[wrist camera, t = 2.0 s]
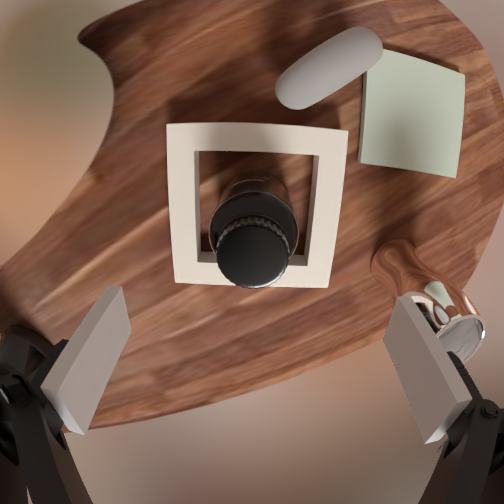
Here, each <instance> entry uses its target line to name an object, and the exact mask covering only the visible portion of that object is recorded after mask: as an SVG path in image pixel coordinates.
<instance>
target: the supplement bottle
mask: <svg viewBox="0 0 504 504" xmlns="http://www.w3.org/2000/svg"><path fill="white" fill-rule="evenodd" d="M298 238H299V229H298V223H297V219H296V216H295V213H294V210H293V206H292V203H291V200H290V197H289V195H288V192H287V190H286V188H285V187H284V185H283V184H282V183H281V182H280V181H279V180H278V179H277V178H276V177H274V176H272V175H270V174H268V173H265V172H261V171H250V172H245V173H242V174H240V175H238V176H236V177H235V178H233V179H232V180H231V181H230V182H229V183H228V184H227V186H226V187H225V189H224V191H223V193H222V195H221V197H220V199H219V202H218V204H217V206H216V208H215V211H214V213H213V215H212V218H211V221H210V226H209V240H210V245H211V247H212V250H213V252H214V253H215V255H216V257H217V258H216V262H217V263H218V268H219V269H220V270H221V273H222V274H223V275H224V276H225V278H226V279H228V280H229V281H230V282H231V283H234V284H235V285H237V286H241V287H243V288H249V289H251V288H255V289H257V288H263V287H265V286H269V285H271V284H272V283H275V282H276V281H277V279H279V278H281V275H282V274H284V273H285V269H286V268H287V267H288V262H289V259H290V258H291V256H292V255H293V253H294V252H295V249H296V247H297V244H298Z"/></svg>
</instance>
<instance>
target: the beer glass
mask: <svg viewBox="0 0 504 504" xmlns="http://www.w3.org/2000/svg"><path fill="white" fill-rule="evenodd" d="M371 272H372V275H373V277H374V279H375V280H376V281H377V282H378V283H379V284H380V285H381V286H383V287H384V289H385V290H386V291H387V293H388V295H389V298H390V301H391V305H392V308H393V309H394V306H395V303H396V300H397V297H400V296H411V298H412V299H413V301H414V302H415V304H416V305H417V307H418V308H419V310H420V311H421V313H422V314H423V316H424V317H425V319H426V320H427V322H428V323H429V325H430V326H431V328H432V330H433V331H434V333H435V334H436V336H437V338H438V339H439V341H440V342H441V344H442V346H443V347H444V349H445V351H446V352H448V351H452V352H453V353H454V354H455V355H456V356H458V357H459V358H460V360H461V361H462V363H463V364H464V363H466V362H467V361H468V360H469V359H470V358H471V357H472V356H473V355H474V354H475V353H476V351H477V350H478V349H479V347H480V345H481V344H482V342H483V340H484V337H485V333H486V323H485V320H484V319H483V318H482V317H481V315H480V314H479V312H478V311H477V309H476V308H475V306H474V305H473V303H472V302H471V301H470V300H469V298H468V297H467V296H466V294H465V293H464V292H463V291H462V290H461V289H460V288H459V287H458V286H457V285H456V284H455V283H454V282H453V281H452V280H451V279H449V278H448V277H447V276H445V275H444V274H442V273H441V272H439V271H438V270H436V269H435V268H433V267H431V266H430V265H428V264H427V263H425V262H424V261H423V260H422V259H421V258H420V256H419V255H418V253H417V251H416V249H415V247H414V246H413V245H412V244H411V243H410V242H408V241H406V240H404V239H393V240H390V241H388V242H386V243H384V244H383V245H382V246H381V247H380V248H379V249H378V250H377V251H376V253H375V254H374V256H373V258H372V262H371Z"/></svg>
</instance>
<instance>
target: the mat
mask: <svg viewBox="0 0 504 504" xmlns="http://www.w3.org/2000/svg"><path fill="white" fill-rule="evenodd" d="M464 96H465V75H463V74H461V73H458V72H455V71H453V70H450V69H448V68H445V67H442V66H439V65H436V64H434V63H431V62H428V61H424V60H421V59H418V58H415V57H412V56H408V55H405V54H401V53H397V52H394V51H390V50H386V49H383V54H382V57H381V58H380V60H379V61H378V62H377V63H376V64H375V65H373V66H372V67H371V68H370V69H368V70H367V71H365V72H364V78H363V98H362V114H361V128H360V139H359V150H358V160H357V161H358V162H359V163H364V164H372V165H380V166H387V167H394V168H401V169H407V170H414V171H420V172H426V173H431V174H437V175H442V176H447V177H452V178H456V173H457V167H458V160H459V153H460V145H461V136H462V126H463V113H464Z"/></svg>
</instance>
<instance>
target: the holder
mask: <svg viewBox="0 0 504 504" xmlns="http://www.w3.org/2000/svg"><path fill="white" fill-rule="evenodd" d="M347 142H348V131H345V130H340V129H332V128H323V127H313V126H301V125H288V124H271V123H246V122H191V123H171V124H167V169H168V194H169V212H170V228H171V241H172V254H173V265H174V275H175V283H194V284H215V285H235V284H234V283H231V282H230V281H229V280H228V279H226V278H225V276H224V275H223V274H222V273H221V270H220V269H219V268H218V263H217V262H216V258H217V257H216V255H215V253H214V252H201V234H200V195H199V151H252V152H275V153H292V154H306V155H314V159H313V171H312V183H311V194H310V204H309V214H308V224H307V233H306V242H305V251H304V255H292V256H291V258H290V259H289V262H288V267H287V268H286V269H285V273H284V274H282V275H281V278H279V279H277V281H276V282H275V283H272V284H271V285H269V286H271V287H315V288H328V283H329V278H330V272H331V266H332V260H333V254H334V248H335V241H336V235H337V228H338V221H339V214H340V206H341V198H342V190H343V181H344V172H345V163H346V153H347Z"/></svg>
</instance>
